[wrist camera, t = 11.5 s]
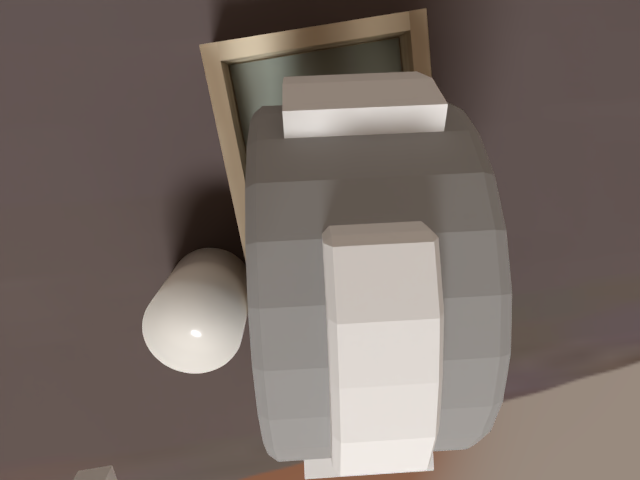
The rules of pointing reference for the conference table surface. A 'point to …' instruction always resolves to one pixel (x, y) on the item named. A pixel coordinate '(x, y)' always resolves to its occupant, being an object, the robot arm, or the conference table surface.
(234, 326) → the white rounded cylinder
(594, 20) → the conference table surface
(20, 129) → the conference table surface
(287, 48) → the tray
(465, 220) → the alarm clock
